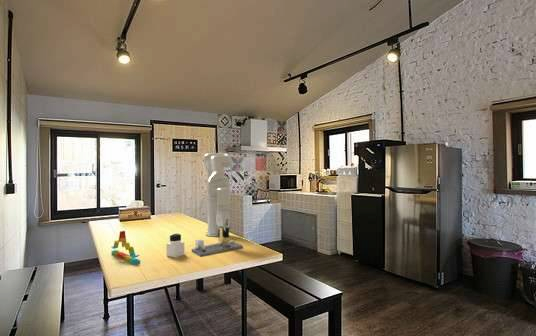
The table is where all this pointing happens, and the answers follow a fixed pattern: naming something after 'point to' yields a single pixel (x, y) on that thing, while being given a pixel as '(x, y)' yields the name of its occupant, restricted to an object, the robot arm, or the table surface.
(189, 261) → the table surface
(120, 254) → the multicolored stepped triangle frame
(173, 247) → the medicine bottle
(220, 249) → the bolt plate
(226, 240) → the brass slider
